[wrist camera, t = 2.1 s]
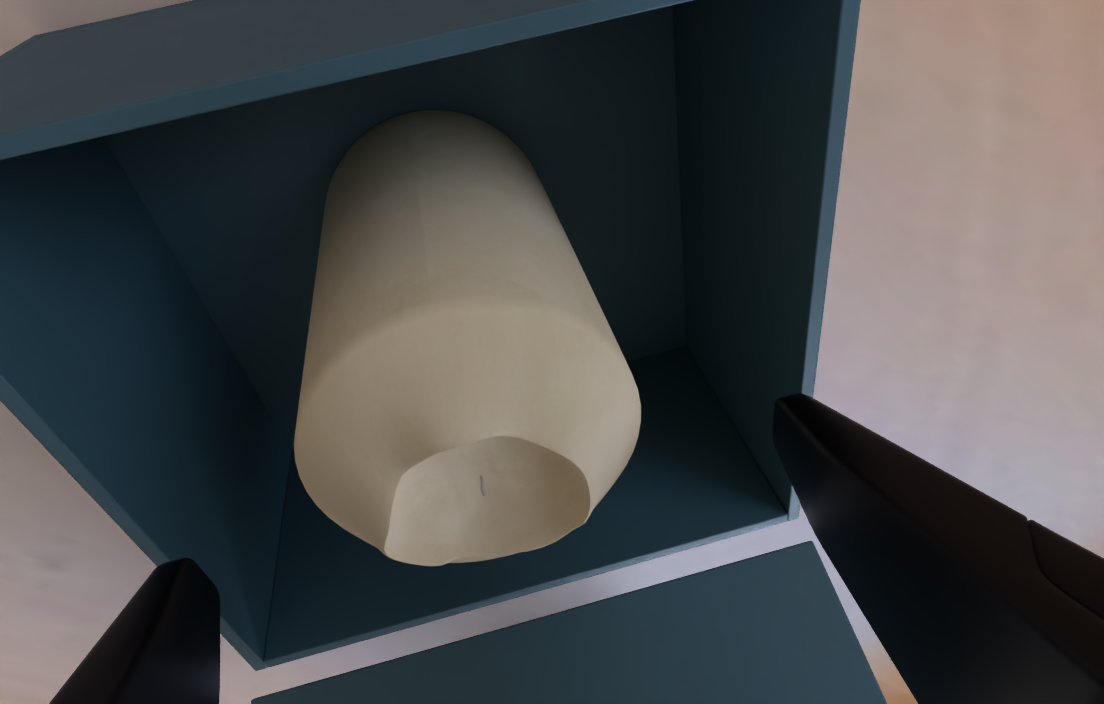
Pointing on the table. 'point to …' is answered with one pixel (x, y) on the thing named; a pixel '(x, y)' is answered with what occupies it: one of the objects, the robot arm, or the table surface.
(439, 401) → the candle
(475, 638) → the flap
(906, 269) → the table surface
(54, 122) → the carton
